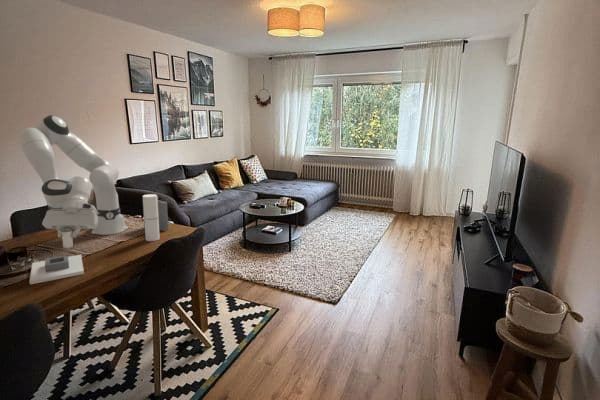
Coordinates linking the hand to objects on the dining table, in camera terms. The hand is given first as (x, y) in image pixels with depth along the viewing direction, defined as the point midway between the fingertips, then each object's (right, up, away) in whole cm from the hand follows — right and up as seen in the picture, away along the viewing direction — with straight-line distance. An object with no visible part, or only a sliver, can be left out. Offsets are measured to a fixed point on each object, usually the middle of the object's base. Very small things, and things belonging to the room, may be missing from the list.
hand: (66, 236), depth 139 cm
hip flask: (+12, -2, +60) cm, 62 cm away
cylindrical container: (+17, -6, +44) cm, 47 cm away
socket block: (-6, -15, +3) cm, 16 cm away
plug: (0, -4, +2) cm, 5 cm away
